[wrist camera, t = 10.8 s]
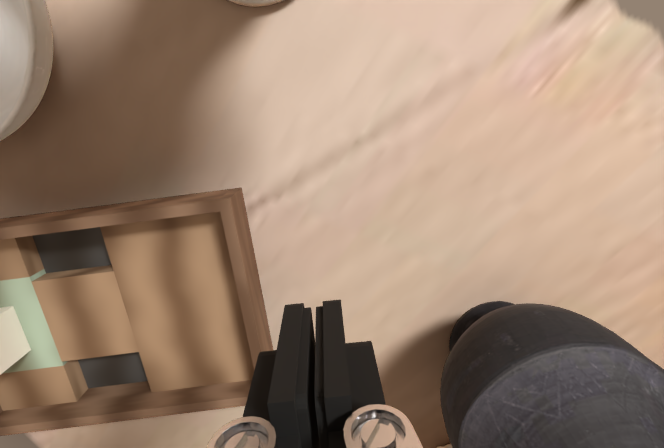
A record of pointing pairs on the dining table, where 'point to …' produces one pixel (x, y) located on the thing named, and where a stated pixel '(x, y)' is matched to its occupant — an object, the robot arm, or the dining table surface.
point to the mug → (446, 447)
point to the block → (11, 339)
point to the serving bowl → (23, 60)
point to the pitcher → (547, 382)
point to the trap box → (131, 311)
